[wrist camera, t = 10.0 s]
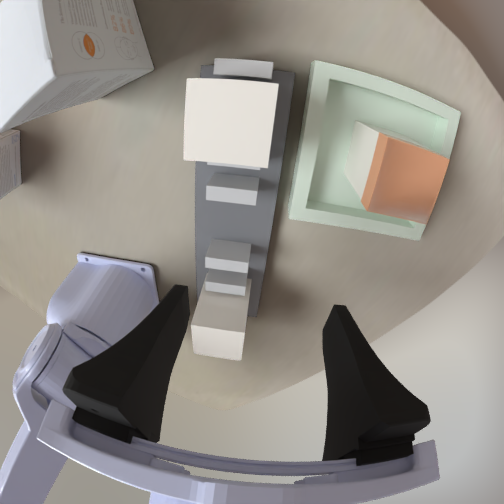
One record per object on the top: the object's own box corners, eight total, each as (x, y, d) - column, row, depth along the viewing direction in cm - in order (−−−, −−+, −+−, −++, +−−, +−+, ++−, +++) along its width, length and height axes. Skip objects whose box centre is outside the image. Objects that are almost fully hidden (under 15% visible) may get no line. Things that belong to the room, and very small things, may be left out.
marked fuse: (342, 173, 18) (366, 211, 13) (354, 119, 16) (387, 136, 11) (391, 184, 18) (426, 224, 13) (405, 134, 16) (449, 159, 11)
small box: (77, 26, 12) (-23, 28, 3) (133, -9, 11) (38, -41, 2) (98, 101, 16) (-5, 137, 8) (157, 71, 15) (54, 78, 6)
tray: (287, 206, 20) (288, 218, 19) (311, 62, 14) (315, 60, 12) (410, 228, 20) (419, 240, 19) (446, 107, 14) (460, 112, 12)
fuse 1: (210, 135, 17) (183, 160, 12) (214, 79, 15) (186, 78, 10) (270, 141, 17) (267, 168, 12) (277, 84, 15) (278, 83, 10)
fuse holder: (199, 305, 28) (192, 329, 25) (204, 62, 15) (190, 58, 12) (256, 313, 28) (254, 338, 25) (294, 69, 14) (299, 66, 12)
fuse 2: (207, 303, 26) (193, 353, 21) (206, 272, 24) (190, 324, 19) (247, 309, 26) (241, 360, 21) (251, 278, 24) (244, 332, 19)
